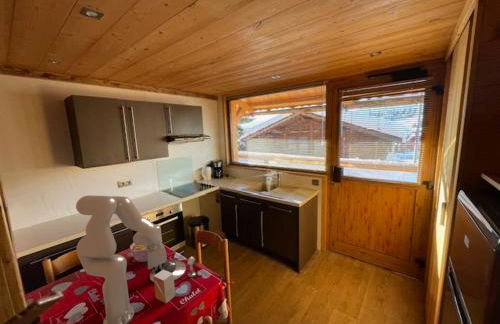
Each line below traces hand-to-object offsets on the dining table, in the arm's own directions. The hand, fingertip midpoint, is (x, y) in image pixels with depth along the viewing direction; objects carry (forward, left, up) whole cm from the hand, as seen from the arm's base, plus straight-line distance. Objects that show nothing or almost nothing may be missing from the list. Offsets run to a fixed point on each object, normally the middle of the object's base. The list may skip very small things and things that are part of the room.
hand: (158, 274), depth 130 cm
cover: (0, -7, -1) cm, 7 cm away
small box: (-19, +4, -3) cm, 19 cm away
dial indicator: (-13, -15, -2) cm, 20 cm away
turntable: (0, -6, -2) cm, 7 cm away
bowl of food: (+27, -3, -3) cm, 27 cm away
